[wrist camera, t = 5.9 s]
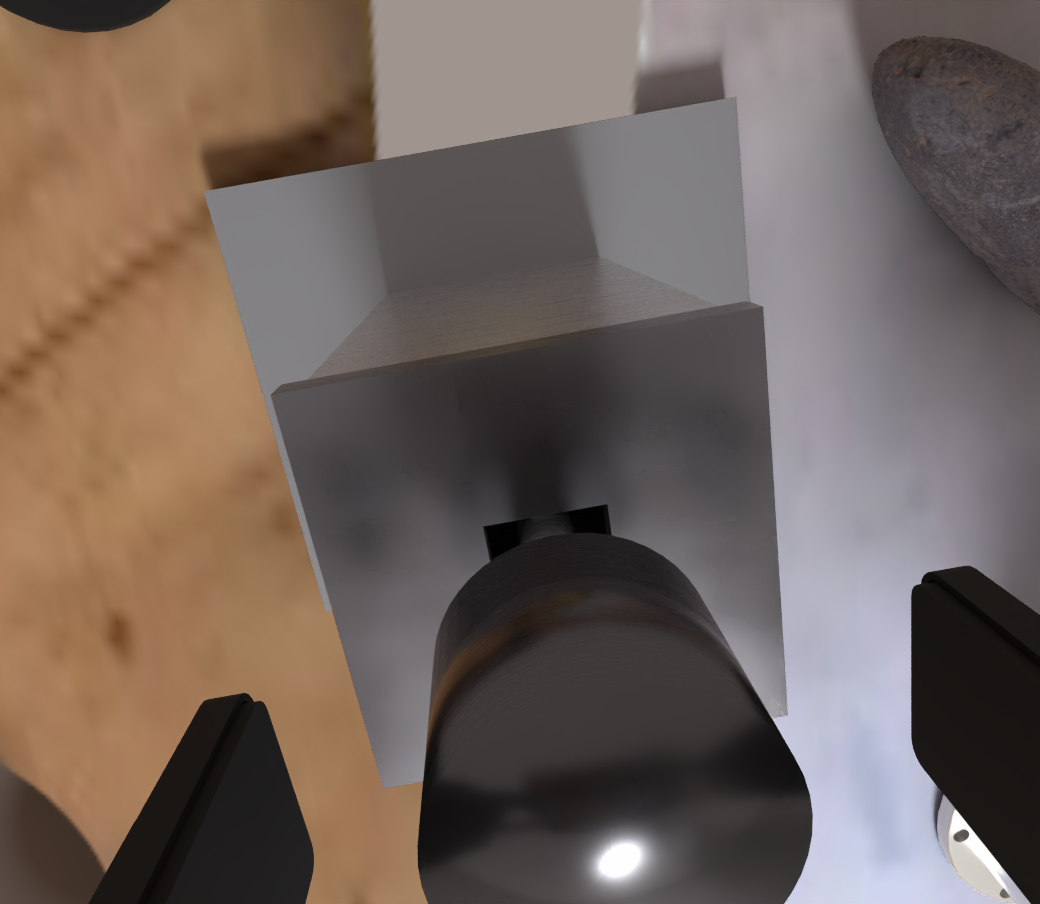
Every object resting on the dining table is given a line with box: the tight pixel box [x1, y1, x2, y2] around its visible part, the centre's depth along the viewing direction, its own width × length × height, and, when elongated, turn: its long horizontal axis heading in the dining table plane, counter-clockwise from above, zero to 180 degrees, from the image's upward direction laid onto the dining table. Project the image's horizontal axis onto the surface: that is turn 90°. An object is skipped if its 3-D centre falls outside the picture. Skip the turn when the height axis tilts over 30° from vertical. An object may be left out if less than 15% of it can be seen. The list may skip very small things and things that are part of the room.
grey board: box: [204, 97, 750, 612], centre depth 31 cm, size 20×18×1 cm
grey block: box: [271, 256, 788, 789], centre depth 23 cm, size 9×12×17 cm
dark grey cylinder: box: [418, 511, 813, 904], centre depth 18 cm, size 4×4×20 cm
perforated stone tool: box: [872, 36, 1040, 315], centre depth 27 cm, size 15×5×7 cm, turn 51°
